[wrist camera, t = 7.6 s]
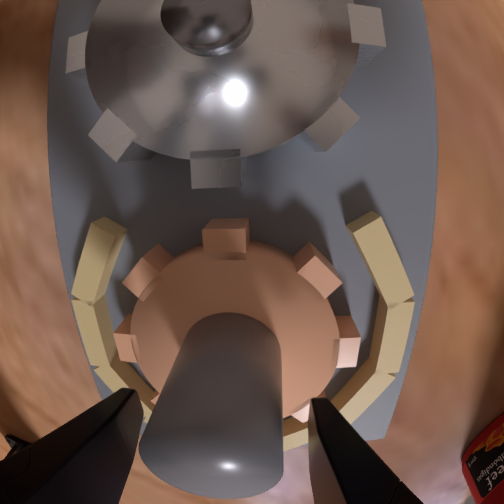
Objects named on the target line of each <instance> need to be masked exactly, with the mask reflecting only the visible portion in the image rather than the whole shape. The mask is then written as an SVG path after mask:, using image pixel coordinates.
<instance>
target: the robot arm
mask: <svg viewBox="0 0 504 504" xmlns="http://www.w3.org/2000/svg"><path fill="white" fill-rule="evenodd" d="M143 417H144V410H143V407H142V404H141V401H140V398H139V394H138V392H137V390H135V389H132V388H125V387H124V388H120V389H119V390H117V391H116V392H114V393H113V394H111V395H110V396H108V397H106V398H105V399H103V400H102V401H100V402H99V403H97V404H96V405H94V406H92V407H91V408H89V409H88V410H86V411H85V412H83V413H81V414H80V415H78V416H77V417H75V418H73V419H72V420H70V421H69V422H67V423H65V424H64V425H62V426H60V427H59V428H57V429H56V430H54V431H52V432H51V433H49V434H47V435H46V436H44V437H42V438H41V439H39V440H37V441H36V442H34V443H32V444H31V445H30V444H28V443H25V442H23V441H21V440H19V439H17V438H15V437H12V436H10V435H8V434H6V436H5V439H6V441H7V442H8V444H9V445H10V446H11V448H12V449H11V450H10V451H9V453H8V454H7V456H6V457H5V458H4V459H3V460H1V461H0V504H119V501H120V498H121V495H122V492H123V489H124V486H125V483H126V481H127V478H128V475H129V472H130V469H131V466H132V463H133V460H134V456H135V452H136V448H137V443H138V439H139V434H140V430H141V426H142V421H143ZM308 444H309V471H310V479H311V485H312V491H313V497H314V503H315V504H424V503H423V502H422V501H421V500H420V499H419V498H418V497H417V496H416V495H415V494H413V493H412V492H411V491H410V489H409V488H408V487H407V486H406V485H405V484H404V483H403V482H402V481H400V479H399V478H398V477H397V476H396V475H395V473H394V472H393V471H392V470H391V469H390V468H389V467H388V466H387V465H386V464H385V462H384V461H383V460H382V459H381V458H380V457H379V456H378V455H377V454H376V453H375V451H374V450H373V449H372V448H371V447H370V446H369V445H368V444H367V443H366V441H365V440H364V439H363V438H362V437H361V436H360V435H359V434H358V432H357V431H356V430H355V429H354V428H353V427H352V426H351V424H350V423H349V422H348V421H347V420H346V419H345V418H344V416H343V415H342V414H341V413H340V412H339V411H338V410H337V408H336V407H335V406H334V405H333V404H332V403H331V401H330V400H329V399H328V398H326V397H314V398H311V400H310V406H309V415H308ZM399 481H400V482H399Z"/></svg>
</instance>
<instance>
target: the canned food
mask: <svg viewBox="0 0 504 504" xmlns="http://www.w3.org/2000/svg"><path fill="white" fill-rule="evenodd" d="M462 472H463V475H464V477H465V480H466V482H467V484H468V487H469V489H470V491H471V494H472V496H473V499H474V501H475V504H504V414H502V415H501V416H499V417H498V418H497V419H496V420H494V421H493V422H492V423H491V424H490V425H488V426H487V427H486V428H485V429H484V430H483V431H482V432H481V433H480V434H479V435H478V436H477V437H476V438H475V440H474V441H473V442H472V443H471V445H470V446H469V447H468V449H467V450H466V452H465V454H464V456H463V459H462Z"/></svg>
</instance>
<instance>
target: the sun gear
mask: <svg viewBox="0 0 504 504" xmlns="http://www.w3.org/2000/svg"><path fill="white" fill-rule="evenodd" d="M384 48H386V41H385V33H384V26H383V19H382V13H381V8H377V7H371V6H364V5H356V4H354V1H353V0H101V2H100V3H99V5H98V7H97V9H96V11H95V14H94V16H93V18H92V20H91V24H90V27H89V31H86V32H83V33H80V34H77V35H75V36H72V37H69V40H68V49H67V61H66V74H68V75H71V76H75V77H78V78H81V79H84V80H87V81H88V83H89V87H90V90H91V93H92V95H93V97H94V99H95V101H96V103H97V105H98V107H99V108H100V110H101V111H102V113H103V115H102V116H101V117H100V119H99V120H98V121H97V123H96V124H95V126H94V127H93V129H92V130H91V131H90V133H89V134H88V136H89V137H90V138H91V139H92V140H93V141H94V142H95V143H96V144H97V145H99V146H100V147H101V148H102V149H103V150H104V151H105V152H106V153H107V154H108V155H109V156H110V157H111V158H112V159H113V160H114V161H115V162H116V163H117V162H127V161H138V160H151V159H152V157H153V156H154V155H155V154H156V153H160V154H164V155H167V156H171V157H175V158H181V159H189V160H190V166H191V185H192V189H200V188H224V187H242V186H243V185H244V184H245V183H246V182H247V181H248V180H249V159H248V157H249V156H253V155H258V154H261V153H264V152H267V151H270V150H273V149H275V148H277V147H279V146H281V145H283V144H285V143H287V142H289V141H290V140H292V139H293V138H295V137H297V138H298V139H299V140H300V141H301V142H302V143H303V144H305V145H306V146H307V147H308V148H309V149H310V150H311V151H312V152H313V153H314V152H327V151H328V150H329V149H330V148H331V147H332V146H333V145H334V144H335V143H336V142H337V141H338V140H339V139H340V138H341V137H342V136H343V135H344V134H345V133H346V132H347V131H348V130H349V129H350V128H351V127H352V126H353V125H354V124H355V123H356V122H357V121H358V120H359V119H360V117H359V116H358V115H357V114H356V113H355V112H354V111H353V110H352V109H351V108H350V107H349V106H348V105H347V104H346V103H345V102H344V101H343V100H342V99H341V98H340V97H339V96H340V94H341V93H342V92H343V90H344V89H345V87H346V85H347V83H348V81H349V79H350V77H351V75H352V73H353V71H354V69H358V70H361V69H362V68H363V67H364V66H365V65H367V64H368V63H369V62H370V61H371V60H372V59H373V58H374V57H375V56H377V55H378V54H379V53H380V52H381V51H382V50H383V49H384Z"/></svg>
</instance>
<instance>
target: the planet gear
mask: <svg viewBox="0 0 504 504" xmlns="http://www.w3.org/2000/svg"><path fill="white" fill-rule="evenodd" d="M202 237H203V243H200V244H197V245H194V246H192V247H190V248H188V249H186V250H184V251H182V252H180V253H179V254H178V255H176V256H175V257H173V256H172V255H171V254H169V253H168V252H167V251H166V250H165V249H164V248H163V247H162V246H161V245H160V244H159V243H158V244H157V245H156V246H155V247H154V248H152V249H151V250H150V251H149V252H148V253H146V254H145V255H144V256H143V257H142V258H141V259H140V260H139V262H138V263H137V264H136V266H135V267H134V268H133V269H132V271H131V272H130V273H129V274H128V276H127V277H126V278H125V280H124V281H123V282H122V283H123V284H124V285H125V286H126V287H127V288H128V289H129V290H130V291H131V292H132V293H134V294H135V295H136V296H137V297H138V300H137V302H136V304H135V307H134V311H133V314H128V315H127V317H126V318H125V319H124V320H123V321H122V323H121V324H120V325H119V326H118V328H117V329H116V330H115V331H114V332H113V335H114V339H115V343H116V346H117V350H118V354H119V357H120V361H126V362H135V363H138V365H139V367H140V369H141V371H142V372H143V374H144V375H145V377H146V378H147V380H148V381H149V382H150V383H151V385H152V386H153V387H154V388H155V389H156V390H155V392H154V394H153V397H152V399H151V402H152V403H154V404H155V407H154V409H153V411H152V414H151V416H150V418H149V421H148V423H147V425H146V428H145V430H144V432H143V435H142V437H141V440H140V442H139V454H140V456H141V459H142V460H143V462H144V464H145V465H146V466H147V467H148V469H149V470H150V471H151V472H152V473H154V474H155V475H156V476H157V477H159V478H160V479H162V480H163V481H165V482H166V483H168V484H170V485H172V486H174V487H176V488H178V489H180V490H183V491H186V492H189V493H192V494H195V495H199V496H204V497H210V498H219V499H237V498H245V497H251V496H255V495H258V494H261V493H263V492H265V491H268V490H269V489H271V488H272V487H274V486H275V485H276V484H277V483H278V482H279V481H280V479H281V477H282V475H283V418H285V417H287V416H290V415H292V416H293V417H295V418H296V419H298V420H299V421H301V422H302V423H304V422H306V421H307V420H308V415H309V406H310V400H311V398H314V397H326V395H325V390H324V389H325V387H326V386H327V385H328V383H329V381H330V380H331V378H332V376H333V374H334V371H335V369H336V368H344V367H356V364H357V358H358V352H359V346H360V340H361V336H360V334H359V332H358V329H357V327H356V325H355V323H354V320H353V318H352V316H351V315H348V316H334V313H333V310H332V308H331V305H330V302H329V299H328V296H329V295H330V294H331V293H332V292H333V291H334V290H335V289H337V288H338V287H339V286H340V285H341V284H342V281H341V279H340V277H339V275H338V273H337V271H336V269H335V267H334V266H333V265H332V263H331V262H330V261H329V260H328V259H327V258H326V257H325V256H324V255H323V254H322V253H321V252H320V251H319V250H318V249H317V248H316V247H315V246H314V245H312V244H311V243H310V242H308V243H307V244H306V245H305V246H304V247H303V248H302V249H301V250H299V251H298V252H297V253H296V254H295V255H294V256H292V255H291V254H289V253H288V252H286V251H284V250H282V249H280V248H277V247H275V246H273V245H270V244H267V243H264V242H260V241H256V240H250V231H249V218H221V219H211V220H210V221H209V222H208V223H207V224H206V226H205V227H204V228H203V229H202Z"/></svg>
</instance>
